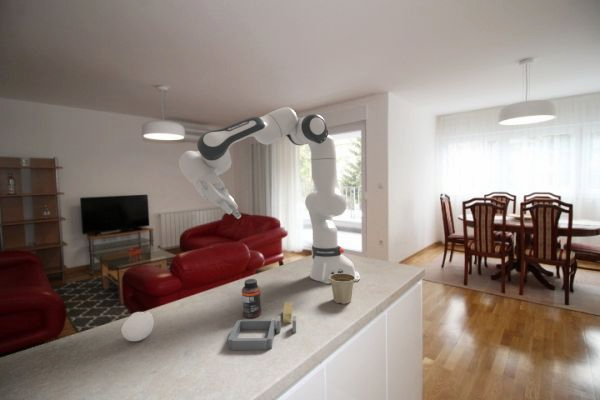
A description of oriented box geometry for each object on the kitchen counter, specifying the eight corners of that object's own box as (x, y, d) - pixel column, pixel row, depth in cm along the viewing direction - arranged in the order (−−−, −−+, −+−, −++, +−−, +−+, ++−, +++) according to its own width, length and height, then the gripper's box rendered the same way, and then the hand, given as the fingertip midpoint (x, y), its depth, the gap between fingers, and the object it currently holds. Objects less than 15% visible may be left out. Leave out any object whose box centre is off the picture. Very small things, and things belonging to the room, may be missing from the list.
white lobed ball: (143, 329, 83) (142, 304, 83) (161, 335, 80) (159, 308, 80) (116, 343, 76) (114, 315, 76) (134, 350, 73) (132, 321, 72)
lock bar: (285, 311, 94) (284, 302, 93) (292, 311, 93) (292, 302, 93) (283, 323, 86) (283, 313, 85) (291, 323, 86) (291, 313, 85)
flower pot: (323, 301, 101) (323, 277, 100) (339, 293, 108) (338, 271, 107) (345, 308, 95) (345, 283, 94) (360, 299, 101) (360, 276, 101)
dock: (296, 326, 83) (296, 315, 83) (295, 349, 72) (295, 336, 72) (237, 327, 83) (237, 316, 83) (227, 350, 72) (227, 337, 72)
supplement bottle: (254, 308, 96) (253, 276, 95) (264, 314, 92) (263, 280, 91) (239, 314, 92) (238, 280, 91) (249, 320, 87) (248, 285, 87)
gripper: (205, 172, 90) (232, 202, 87) (227, 189, 110) (249, 214, 107) (190, 185, 90) (216, 216, 86) (215, 199, 109) (237, 225, 106)
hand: (235, 215), depth 97 cm, fingers open, 8 cm apart
